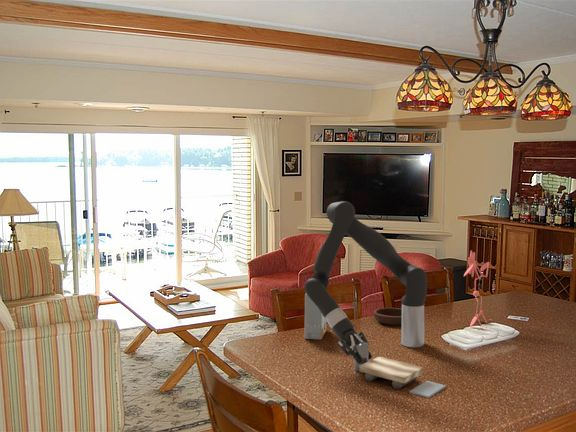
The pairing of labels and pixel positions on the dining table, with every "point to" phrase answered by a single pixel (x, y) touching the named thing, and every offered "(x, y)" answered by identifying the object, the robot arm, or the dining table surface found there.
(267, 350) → the dining table surface
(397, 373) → the birch slab
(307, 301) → the hard drive box
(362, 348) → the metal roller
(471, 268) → the figurine
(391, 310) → the dish
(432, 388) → the slate-grey pad
